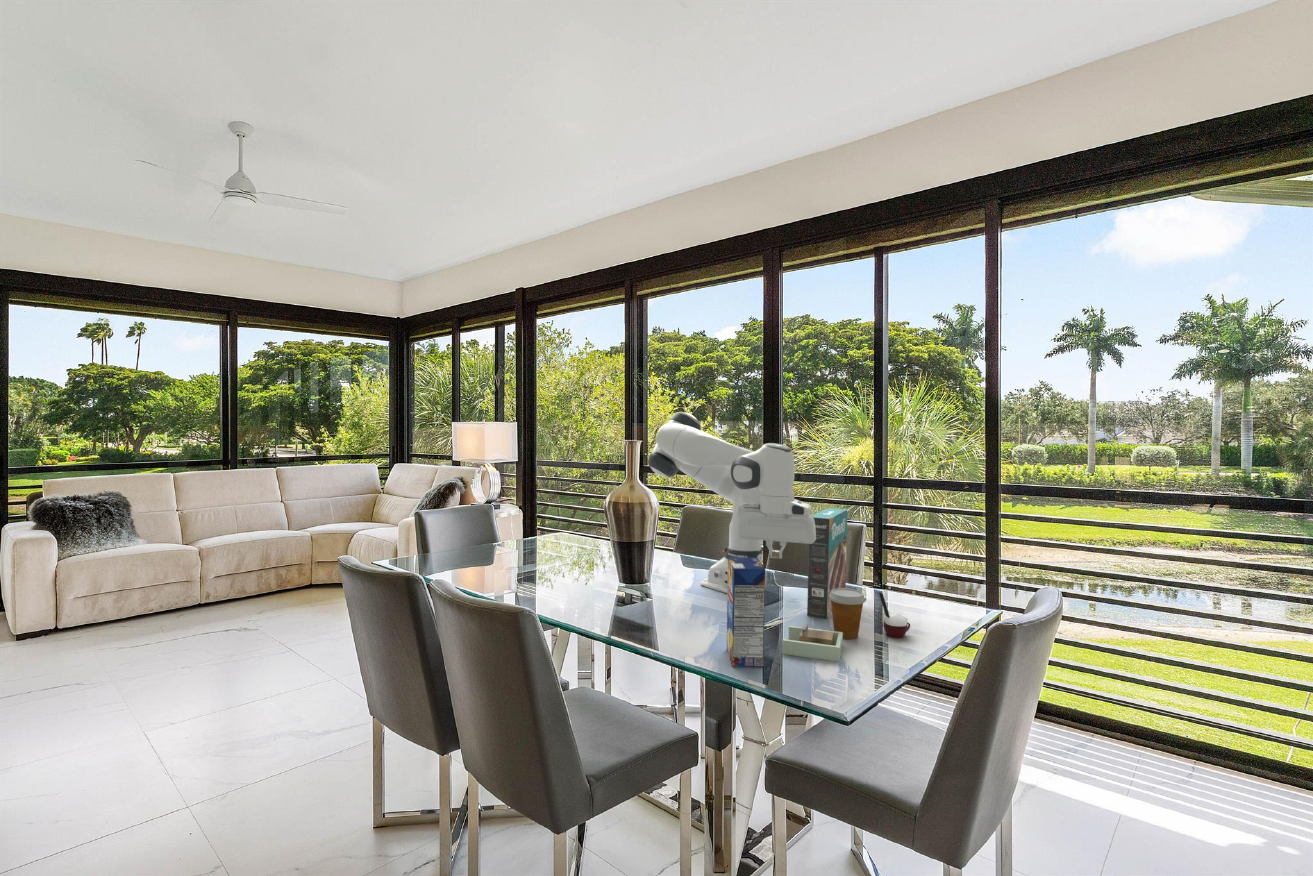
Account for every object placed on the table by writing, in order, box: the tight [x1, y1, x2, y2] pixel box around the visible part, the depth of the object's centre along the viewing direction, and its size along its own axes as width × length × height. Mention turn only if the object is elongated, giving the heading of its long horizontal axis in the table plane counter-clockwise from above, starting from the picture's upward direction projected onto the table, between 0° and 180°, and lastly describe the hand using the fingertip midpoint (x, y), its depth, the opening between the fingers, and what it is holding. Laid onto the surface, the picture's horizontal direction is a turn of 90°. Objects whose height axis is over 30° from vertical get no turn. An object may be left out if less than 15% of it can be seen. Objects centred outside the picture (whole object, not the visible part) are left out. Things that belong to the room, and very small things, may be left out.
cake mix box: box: [806, 507, 849, 620], centre depth 204 cm, size 22×6×30 cm, turn 150°
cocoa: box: [878, 592, 911, 639], centre depth 180 cm, size 10×6×12 cm, turn 81°
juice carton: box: [726, 557, 766, 669], centre depth 162 cm, size 12×8×24 cm, turn 0°
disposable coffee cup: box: [829, 587, 866, 640], centre depth 180 cm, size 10×10×12 cm
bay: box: [781, 625, 844, 663], centre depth 169 cm, size 14×12×4 cm
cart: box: [799, 623, 834, 646], centre depth 168 cm, size 8×8×6 cm
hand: (776, 557), depth 172 cm, fingers closed
